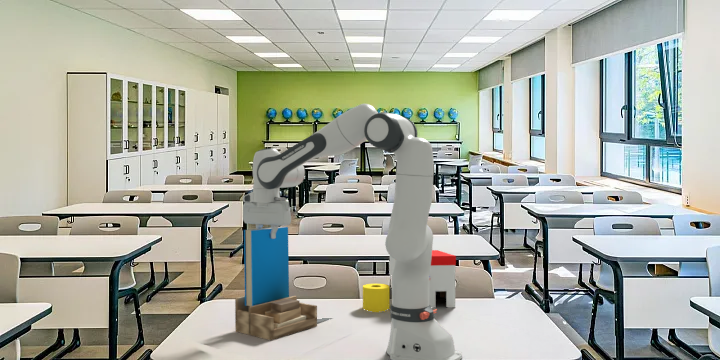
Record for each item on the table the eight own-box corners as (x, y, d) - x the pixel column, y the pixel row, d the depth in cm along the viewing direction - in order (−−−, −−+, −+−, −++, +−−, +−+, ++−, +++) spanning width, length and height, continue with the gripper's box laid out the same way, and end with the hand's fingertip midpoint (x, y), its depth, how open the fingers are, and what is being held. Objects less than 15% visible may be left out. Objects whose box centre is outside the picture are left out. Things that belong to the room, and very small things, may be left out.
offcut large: (306, 324, 198) (306, 315, 198) (277, 334, 187) (277, 324, 187) (290, 321, 202) (290, 312, 202) (261, 330, 191) (261, 321, 191)
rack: (317, 326, 200) (316, 293, 200) (271, 340, 183) (271, 305, 183) (281, 318, 210) (281, 287, 210) (235, 331, 194) (235, 297, 194)
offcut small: (299, 308, 196) (299, 300, 196) (281, 312, 190) (281, 304, 190) (289, 305, 199) (289, 298, 199) (271, 310, 193) (270, 302, 193)
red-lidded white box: (401, 312, 220) (400, 256, 219) (389, 293, 254) (389, 244, 254) (455, 311, 221) (456, 255, 221) (437, 292, 256) (437, 244, 256)
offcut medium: (300, 316, 197) (300, 307, 197) (279, 323, 188) (279, 314, 188) (286, 314, 200) (286, 305, 200) (265, 321, 191) (265, 312, 191)
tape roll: (357, 310, 223) (357, 285, 222) (379, 306, 228) (379, 282, 228) (372, 315, 214) (372, 289, 214) (394, 312, 220) (394, 286, 220)
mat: (352, 313, 218) (352, 312, 218) (315, 324, 202) (315, 323, 202) (331, 309, 224) (331, 308, 224) (294, 319, 208) (294, 318, 208)
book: (253, 307, 191) (252, 230, 191) (244, 305, 194) (243, 229, 194) (290, 298, 205) (289, 226, 204) (282, 297, 207) (281, 225, 207)
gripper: (295, 197, 195) (295, 238, 195) (253, 196, 208) (253, 235, 208) (281, 197, 190) (281, 240, 190) (239, 196, 203) (239, 237, 203)
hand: (266, 237), depth 199 cm, fingers closed on book, 4 cm apart
